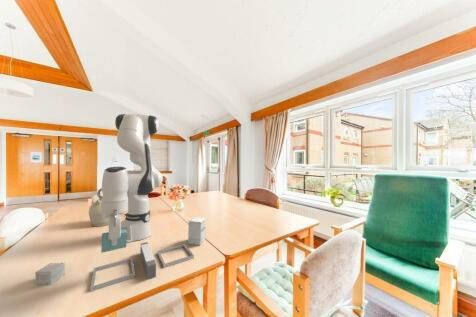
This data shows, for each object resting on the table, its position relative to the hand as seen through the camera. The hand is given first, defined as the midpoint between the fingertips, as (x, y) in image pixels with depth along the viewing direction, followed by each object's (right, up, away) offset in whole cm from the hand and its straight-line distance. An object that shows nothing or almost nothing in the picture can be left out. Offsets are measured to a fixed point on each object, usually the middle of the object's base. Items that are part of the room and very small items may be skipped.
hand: (114, 242), depth 71 cm
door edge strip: (+10, -13, +7) cm, 18 cm away
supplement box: (+27, -14, +29) cm, 41 cm away
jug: (-45, -12, +53) cm, 71 cm away
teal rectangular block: (0, -2, 0) cm, 2 cm away
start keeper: (+19, -13, +14) cm, 27 cm away
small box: (-22, -13, -4) cm, 26 cm away
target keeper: (0, -13, 0) cm, 13 cm away
